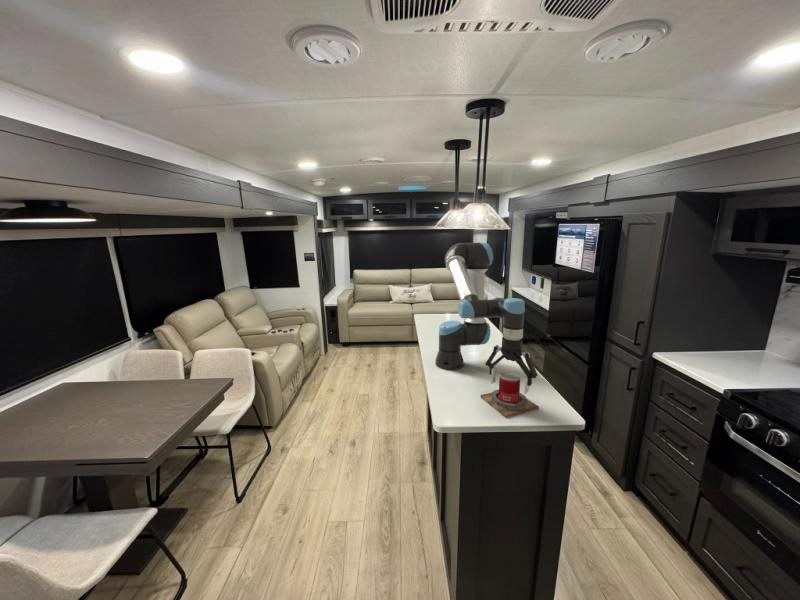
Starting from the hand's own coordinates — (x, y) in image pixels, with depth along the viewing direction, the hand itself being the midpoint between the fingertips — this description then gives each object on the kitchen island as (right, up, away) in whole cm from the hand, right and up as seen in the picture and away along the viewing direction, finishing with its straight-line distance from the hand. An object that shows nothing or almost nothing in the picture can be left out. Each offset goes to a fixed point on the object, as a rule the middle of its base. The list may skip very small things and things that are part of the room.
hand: (509, 387), depth 123 cm
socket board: (0, -7, +1) cm, 7 cm away
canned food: (0, -6, +1) cm, 6 cm away
